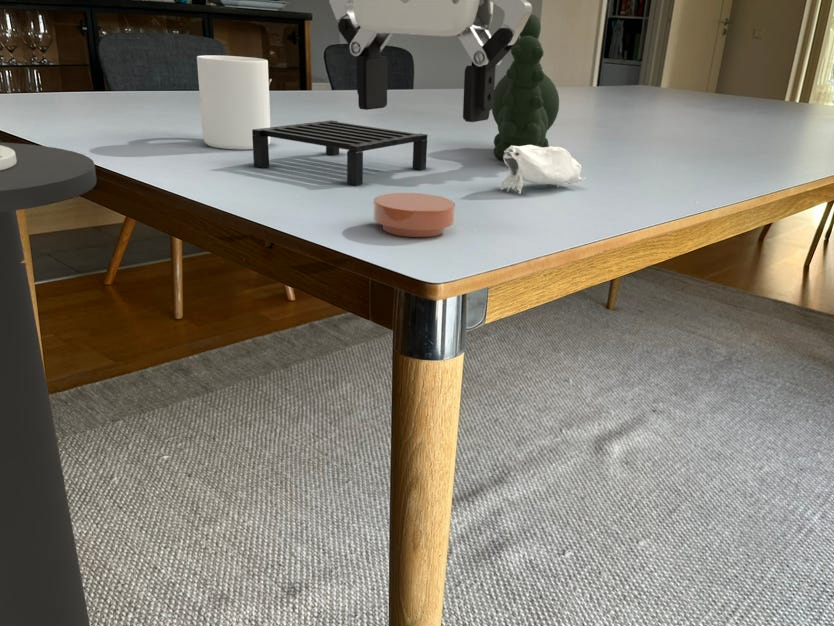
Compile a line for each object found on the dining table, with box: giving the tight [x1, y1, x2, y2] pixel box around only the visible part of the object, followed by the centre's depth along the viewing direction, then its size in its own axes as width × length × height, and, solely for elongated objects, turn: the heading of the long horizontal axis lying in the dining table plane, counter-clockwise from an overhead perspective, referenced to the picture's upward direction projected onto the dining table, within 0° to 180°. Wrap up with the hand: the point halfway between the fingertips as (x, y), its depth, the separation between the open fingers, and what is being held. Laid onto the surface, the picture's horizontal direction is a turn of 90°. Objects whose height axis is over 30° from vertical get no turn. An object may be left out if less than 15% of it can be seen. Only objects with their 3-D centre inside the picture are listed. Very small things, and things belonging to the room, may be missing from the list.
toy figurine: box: [491, 13, 560, 161], centre depth 101 cm, size 9×19×25 cm
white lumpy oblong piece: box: [499, 145, 587, 195], centre depth 84 cm, size 5×7×10 cm
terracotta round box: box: [373, 192, 456, 238], centre depth 65 cm, size 7×7×2 cm
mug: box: [196, 54, 272, 151], centre depth 97 cm, size 12×8×10 cm
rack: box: [252, 119, 428, 186], centre depth 88 cm, size 14×14×4 cm
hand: (423, 114), depth 61 cm, fingers open, 9 cm apart
